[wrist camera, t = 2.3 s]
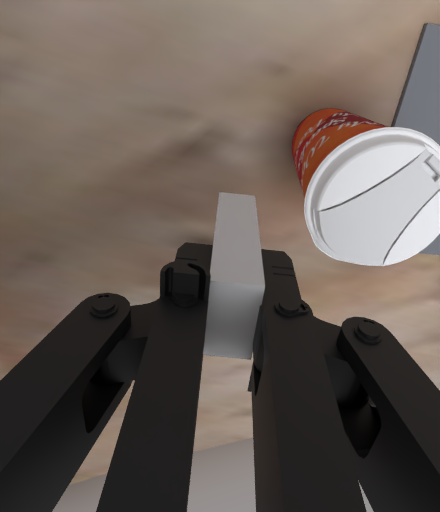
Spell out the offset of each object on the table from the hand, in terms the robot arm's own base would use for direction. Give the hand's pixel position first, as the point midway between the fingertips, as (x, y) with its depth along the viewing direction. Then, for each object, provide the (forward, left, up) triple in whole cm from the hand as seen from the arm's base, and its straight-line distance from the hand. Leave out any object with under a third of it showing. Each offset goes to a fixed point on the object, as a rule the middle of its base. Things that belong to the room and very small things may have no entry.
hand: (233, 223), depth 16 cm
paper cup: (+8, 0, -17) cm, 19 cm away
